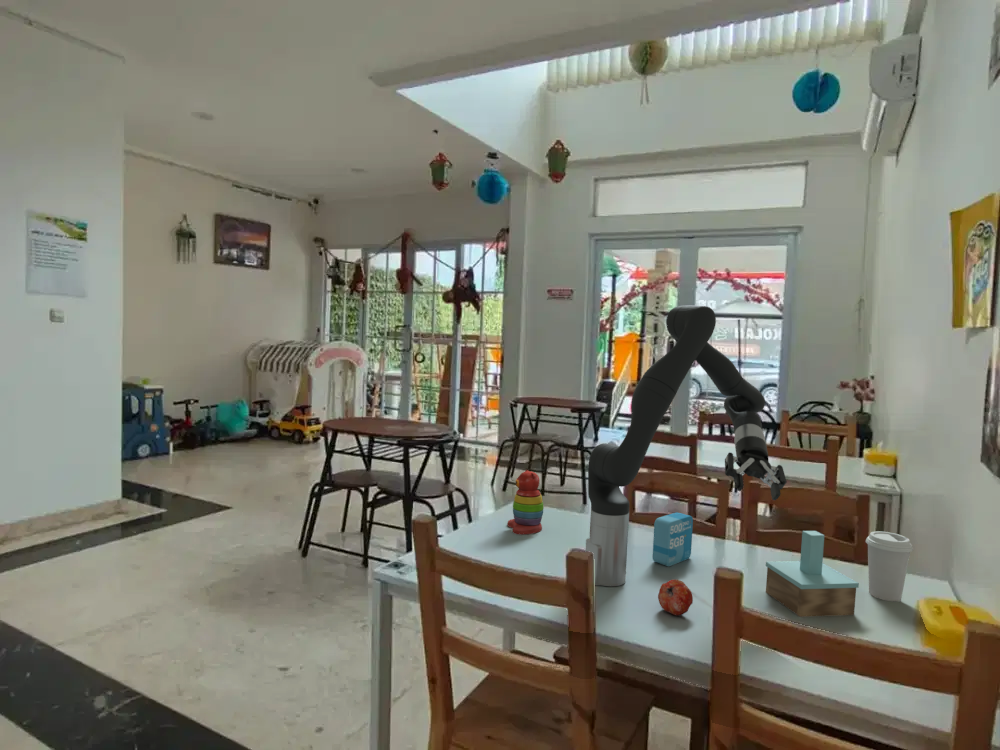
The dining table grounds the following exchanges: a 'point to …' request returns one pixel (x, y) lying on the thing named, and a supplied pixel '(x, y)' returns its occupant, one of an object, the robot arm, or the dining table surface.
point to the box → (810, 598)
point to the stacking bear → (527, 505)
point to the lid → (811, 567)
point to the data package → (672, 538)
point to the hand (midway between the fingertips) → (758, 493)
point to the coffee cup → (887, 564)
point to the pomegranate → (675, 597)
